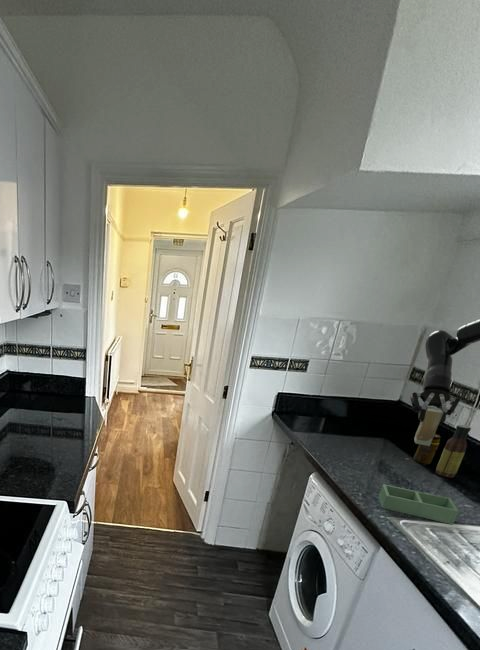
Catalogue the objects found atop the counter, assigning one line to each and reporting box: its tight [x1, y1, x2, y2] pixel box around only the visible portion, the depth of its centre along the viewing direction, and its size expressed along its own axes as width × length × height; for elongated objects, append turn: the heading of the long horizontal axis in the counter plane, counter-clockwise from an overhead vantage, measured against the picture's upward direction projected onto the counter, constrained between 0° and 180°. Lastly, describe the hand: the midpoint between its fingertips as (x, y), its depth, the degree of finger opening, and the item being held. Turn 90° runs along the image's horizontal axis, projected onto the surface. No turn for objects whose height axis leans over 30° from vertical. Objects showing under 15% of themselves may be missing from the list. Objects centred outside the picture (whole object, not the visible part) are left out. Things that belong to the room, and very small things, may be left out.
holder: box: [378, 483, 460, 525], centre depth 131 cm, size 18×10×5 cm, turn 63°
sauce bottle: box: [435, 424, 472, 479], centre depth 156 cm, size 7×6×20 cm
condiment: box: [405, 433, 442, 465], centre depth 169 cm, size 7×8×12 cm
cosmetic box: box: [413, 406, 443, 446], centre depth 143 cm, size 6×4×12 cm
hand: (431, 421), depth 141 cm, fingers closed on cosmetic box, 4 cm apart
